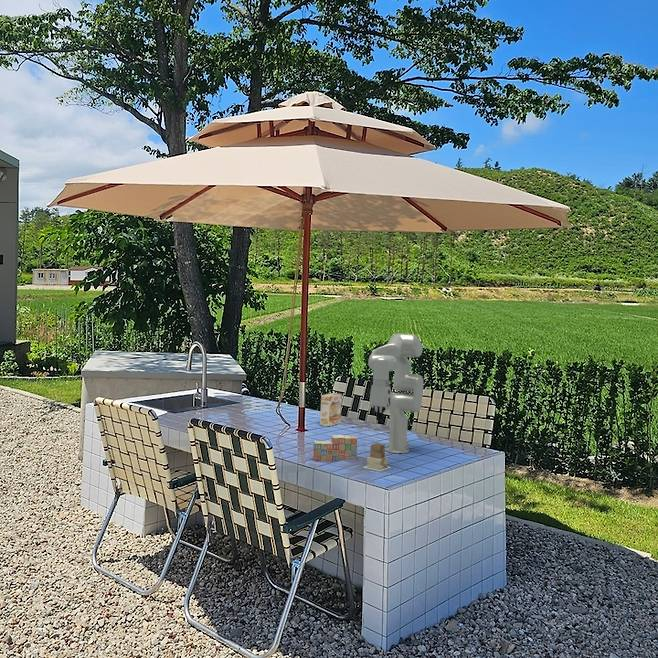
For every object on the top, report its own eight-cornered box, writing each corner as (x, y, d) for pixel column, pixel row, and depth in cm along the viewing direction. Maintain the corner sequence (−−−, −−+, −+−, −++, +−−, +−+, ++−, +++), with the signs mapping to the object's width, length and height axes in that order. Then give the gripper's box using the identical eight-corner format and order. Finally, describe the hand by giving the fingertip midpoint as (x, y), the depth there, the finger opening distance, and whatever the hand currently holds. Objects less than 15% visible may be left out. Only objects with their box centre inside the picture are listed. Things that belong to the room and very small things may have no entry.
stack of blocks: (314, 461, 345) (314, 437, 344) (313, 458, 351) (314, 434, 350) (356, 462, 347) (357, 438, 346) (354, 459, 353) (355, 435, 352)
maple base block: (374, 464, 338) (375, 454, 337) (387, 467, 334) (387, 457, 333) (366, 467, 332) (367, 457, 332) (379, 470, 328) (379, 459, 328)
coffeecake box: (329, 427, 432) (330, 396, 431) (319, 425, 436) (320, 395, 435) (341, 423, 445) (342, 393, 444) (331, 422, 448) (332, 392, 447)
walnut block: (375, 455, 336) (376, 443, 336) (384, 457, 333) (385, 444, 333) (370, 457, 332) (370, 444, 332) (379, 458, 329) (379, 446, 329)
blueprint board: (372, 464, 343) (372, 461, 343) (396, 469, 334) (397, 467, 334) (356, 469, 331) (356, 467, 331) (381, 475, 323) (381, 472, 323)
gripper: (398, 383, 331) (396, 421, 333) (372, 380, 340) (370, 416, 342) (390, 385, 325) (388, 423, 327) (363, 381, 334) (362, 419, 336)
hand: (379, 420), depth 334 cm, fingers closed
